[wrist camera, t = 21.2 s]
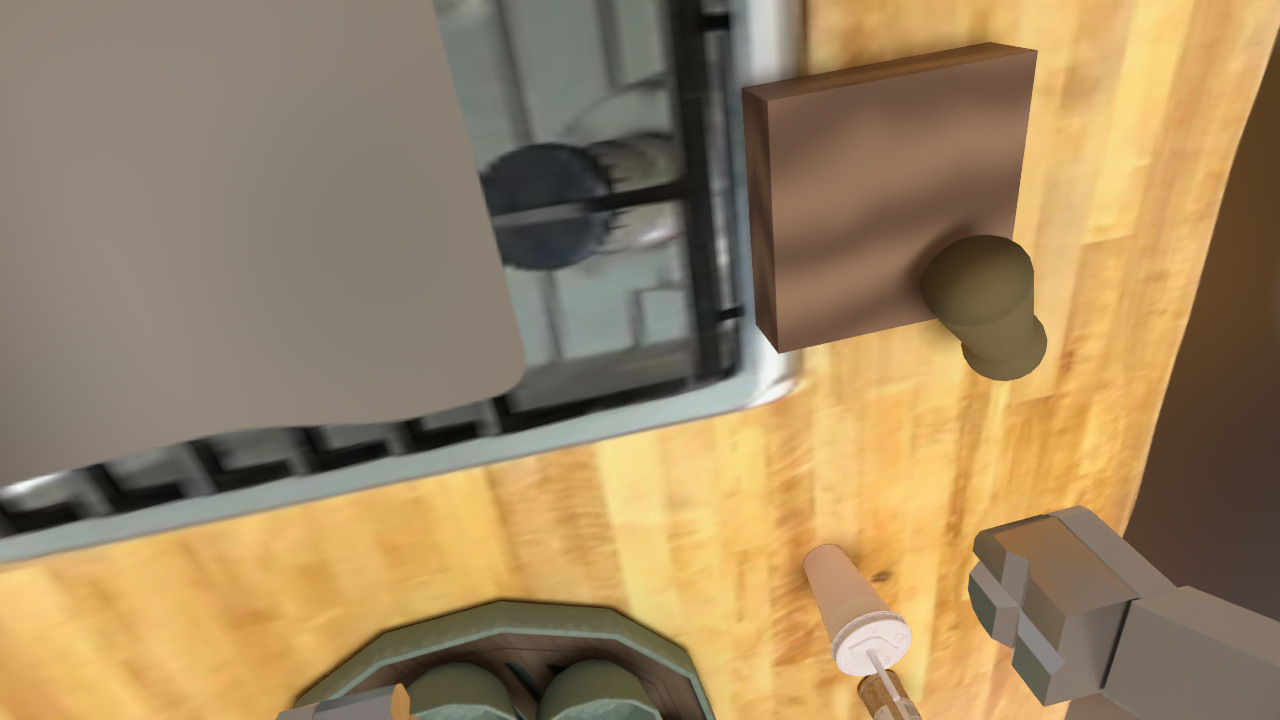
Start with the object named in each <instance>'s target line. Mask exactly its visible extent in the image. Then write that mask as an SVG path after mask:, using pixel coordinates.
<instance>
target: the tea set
mask: <svg viewBox="0 0 1280 720" xmlns="http://www.w3.org/2000/svg"><path fill="white" fill-rule="evenodd" d="M401 683H402V685H403V686H404V688H405V690H406V692H407V694H408V696H409V697H410V707H409V714H410V715H412V716H414V717H417V718H419V719H420V720H716V718H715V715H714V713H713V711H712V708H711V706H710V703H709V701H708V698H707V696H706V694H705V691H704V689H703V686H702V684H701V682H700V679H699V677H698V674H697V672H696V670H695V667H694V665H693V662H692V660H691V657H690V656H689V655H688V654H687V653H686V652H685V651H684V650H683V649H681V648H679V647H677V646H676V645H674V644H672V643H670V642H668V641H667V640H665V639H663V638H661V637H659V636H658V635H656V634H654V633H652V632H650V631H649V630H647V629H645V628H643V627H641V626H640V625H638V624H636V623H634V622H633V621H631V620H629V619H627V618H625V617H624V616H622V615H620V614H618V613H616V612H615V611H613V610H611V609H606V608H592V607H578V606H563V605H549V604H535V603H521V602H507V601H498V602H495V603H491V604H488V605H484V606H480V607H477V608H473V609H470V610H466V611H462V612H459V613H455V614H452V615H448V616H444V617H441V618H437V619H434V620H430V621H426V622H423V623H419V624H416V625H412V626H408V627H405V628H401V629H398V630H394V631H390V632H387V633H384V634H383V635H382V636H380V637H379V638H378V639H376V640H375V641H374V642H372V643H371V644H370V645H368V646H367V647H366V648H365V649H363V650H362V651H361V652H359V653H358V654H357V655H355V656H354V657H353V658H351V659H350V660H349V661H347V662H346V663H345V664H343V665H342V666H341V667H339V668H338V669H337V670H336V671H334V672H333V673H332V674H330V675H329V676H328V677H326V678H325V679H324V680H322V681H321V682H320V683H318V684H317V685H316V686H314V687H313V688H312V689H311V690H309V691H308V692H307V693H305V694H304V695H303V696H302V697H301V698H300V699H299V700H298V702H297V703H296V704H295V705H294V707H293V709H295V708H299V707H303V706H307V705H311V704H315V703H319V702H323V701H327V700H331V699H335V698H340V697H344V696H348V695H353V694H357V693H361V692H366V691H370V690H374V689H378V688H383V687H387V686H391V685H396V684H401Z"/></svg>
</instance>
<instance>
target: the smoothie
mask: <svg viewBox="0 0 1280 720" xmlns="http://www.w3.org/2000/svg"><path fill="white" fill-rule="evenodd" d="M803 566H804V570H805V572H806V575H807V578H808V581H809V583H810V586H811V589H812V592H813V594H814V597H815V600H816V603H817V606H818V608H819V611H820V614H821V617H822V619H823V622H824V625H825V628H826V630H827V634H828V636H829V639H830V641H831V644H832V645H831V654H832V657H833V659H834V660H835V662H836V664H837V666H838V668H839V669H840V670H841V671H842V672H844V673H846V674H848V675H852V676H867V675H872V674H875V673H878V674H879V676H880V678H881V679H882V681H883V683H884V685H885V687H886V688H887V690H888V692H889V694H890V695H891V697H892V699H893V701H898V700H899V699H900V696H899V694H898V692H897V691H896V689H895V687H894V685H893V684H892V682H891V680H890V678H889V677H888V675H887V673H886V671H885V669H887V668H889V667H891V666H892V665H894V664H895V663H896V662H898V661H899V660H900V659H901V658H902V657H903V656H904V654H905V653H906V652H907V650H908V648H909V646H910V644H911V640H912V634H911V630H910V629H909V627H908V626H907V624H906V621H905V619H904V618H903V617H902V616H901V615H899V614H897V613H895V612H893V611H892V610H891V608H890V607H889V606H888V605H887V604H886V602H885V601H884V600H883V599H882V598H881V597H880V595H879V594H878V593H877V592H876V591H875V589H874V588H873V587H872V586H871V585H870V583H869V582H868V581H867V580H866V579H865V577H864V576H863V575H862V574H861V573H860V572H859V570H858V569H857V568H856V567H855V566H854V564H853V563H852V562H851V561H850V560H849V558H848V557H847V556H846V555H845V554H844V552H843V551H842V550H841V549H840V548H839V547H838V546H836V545H832V544H827V545H822V546H819V547H817V548H815V549H813V550H812V551H811V552H810V553H809V554H808V555H807V556H806V558H805V560H804V564H803Z"/></svg>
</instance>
